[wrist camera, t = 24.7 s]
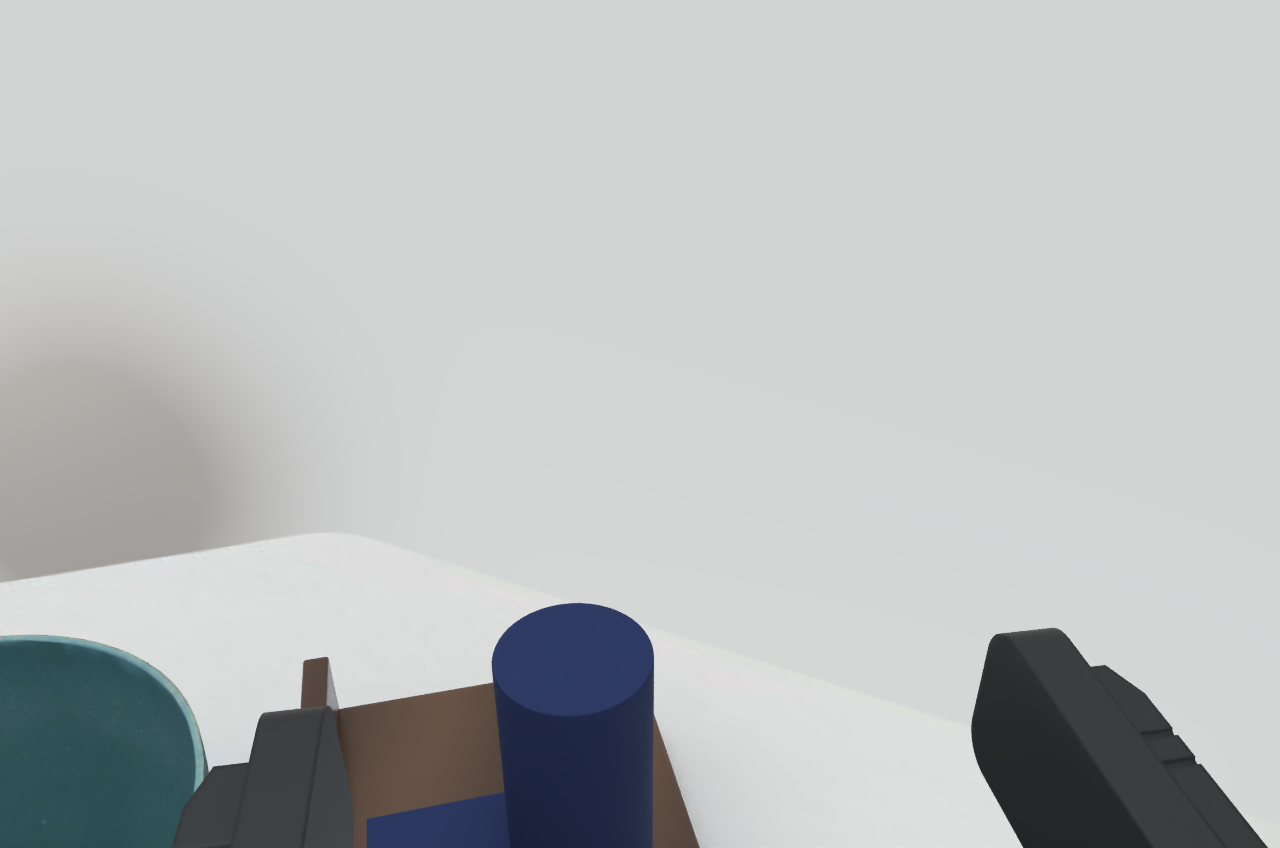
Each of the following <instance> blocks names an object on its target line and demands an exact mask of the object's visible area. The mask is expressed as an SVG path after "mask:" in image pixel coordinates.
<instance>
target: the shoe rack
mask: <svg viewBox="0 0 1280 848" xmlns="http://www.w3.org/2000/svg"><path fill="white" fill-rule="evenodd" d="M321 706H330V707H331V708H332V711H333V714H334V718H335V722H336V727H337V731H338V736H339V741H340V746H341V750H342V755H343V760H344V764H345V769H346V774H347V779H348V783H349V788H350V793H351V799H352V808H353V848H367V819H368V818H374V817H379V816H384V815H389V814H394V813H399V812H404V811H410V810H415V809H420V808H425V807H430V806H435V805H440V804H446V803H451V802H456V801H461V800H466V799H471V798H476V797H482V796H487V795H492V794H497V793H502V792H504V782H503V772H502V762H501V752H500V742H499V732H498V722H497V712H496V702H495V692H494V683H488V684H483V685H477V686H471V687H465V688H459V689H454V690H448V691H442V692H436V693H430V694H425V695H419V696H413V697H407V698H401V699H396V700H390V701H384V702H378V703H372V704H367V705H361V706H355V707H349V708H343V709H339V707H338V702H337V697H336V692H335V687H334V683H333V678H332V673H331V668H330V663H329V659H328V657H322V658H316V659H310V660H305V661H304V663H303V677H302V694H301V709H303V708H312V707H321ZM653 848H699V845H698V842H697V839H696V836H695V833H694V830H693V827H692V824H691V821H690V818H689V815H688V812H687V810H686V807H685V804H684V801H683V798H682V795H681V792H680V789H679V786H678V783H677V780H676V777H675V774H674V771H673V768H672V766H671V763H670V760H669V757H668V754H667V751H666V748H665V745H664V742H663V739H662V736H661V733H660V730H659V727H658V725H657V722H656V719H655V716H654V719H653Z"/></svg>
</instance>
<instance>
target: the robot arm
mask: <svg viewBox="0 0 1280 848" xmlns="http://www.w3.org/2000/svg"><path fill="white" fill-rule="evenodd" d="M971 733H972V743H973V748H974V753H975V757H976V760H977V763H978V765H979V768H980V770H981V772H982V774H983V776H984V778H985V779H986V781H987V783H988V785H989V787H990V788H991V790H992V792H993V794H994V796H995V797H996V799H997V801H998V803H999V805H1000V806H1001V808H1002V810H1003V812H1004V814H1005V815H1006V817H1007V819H1008V821H1009V823H1010V824H1011V826H1012V828H1013V830H1014V832H1015V833H1016V835H1017V837H1018V839H1019V841H1020V842H1021V844H1022V846H1023V848H1268V847H1267V846H1266V845H1265V844H1264V842H1263V841H1262V840H1261V839H1260V837H1259V836H1258V835H1257V834H1256V832H1255V831H1254V830H1253V829H1252V827H1251V826H1250V825H1249V823H1248V822H1247V821H1246V820H1245V818H1244V817H1243V816H1242V815H1241V813H1240V812H1239V811H1238V810H1237V808H1236V807H1235V806H1234V805H1233V803H1232V802H1231V801H1230V800H1229V799H1228V797H1227V796H1226V795H1225V794H1224V792H1223V791H1222V790H1221V788H1220V787H1219V786H1218V785H1217V783H1216V782H1215V781H1214V780H1213V778H1212V777H1211V776H1210V775H1209V773H1208V772H1207V771H1206V770H1205V768H1204V767H1203V766H1202V765H1201V764H1197V763H1196V761H1195V756H1194V754H1193V753H1192V752H1191V751H1190V750H1189V748H1188V747H1187V746H1186V745H1185V743H1184V742H1183V741H1182V739H1181V738H1180V737H1179V736H1178V735H1174V734H1173V731H1172V727H1171V726H1170V724H1169V723H1168V722H1167V721H1166V719H1165V718H1164V717H1163V716H1162V714H1161V713H1160V712H1159V711H1158V709H1157V708H1156V707H1155V706H1154V704H1153V703H1152V702H1151V701H1150V699H1149V698H1148V697H1147V695H1146V694H1145V693H1143V692H1142V691H1141V690H1139V689H1138V688H1137V687H1135V686H1134V685H1132V684H1131V683H1129V682H1128V681H1127V680H1125V679H1124V678H1123V677H1121V676H1120V675H1118V674H1117V673H1116V672H1114V671H1113V670H1111V669H1110V668H1109V667H1107V666H1106V665H1102V666H1094V667H1090V666H1089V664H1088V663H1087V662H1086V660H1085V659H1084V658H1083V656H1082V655H1081V654H1080V652H1079V651H1078V650H1077V648H1076V647H1075V646H1074V645H1073V643H1072V642H1071V641H1070V639H1069V638H1068V637H1067V636H1066V634H1064V633H1063V632H1062V631H1061V630H1059V629H1056V628H1047V629H1038V630H1029V631H1020V632H1011V633H1002V634H996V635H995V636H994V637H993V638H992V639H991V641H990V643H989V647H988V651H987V655H986V660H985V664H984V669H983V673H982V678H981V682H980V686H979V691H978V695H977V700H976V704H975V709H974V713H973V718H972V726H971ZM172 848H353V808H352V799H351V793H350V788H349V783H348V779H347V774H346V769H345V764H344V760H343V755H342V750H341V746H340V741H339V736H338V731H337V727H336V722H335V718H334V714H333V711H332V708H331V707H330V706H321V707H312V708H303V709H294V710H285V711H276V712H267V713H263V714H262V715H261V717H260V719H259V721H258V725H257V729H256V733H255V737H254V742H253V746H252V750H251V755H250V759H249V763H240V764H232V765H223V766H215V767H213V768H212V770H211V771H210V772H209V774H208V775H207V776H206V778H205V779H204V780H203V782H202V783H201V784H200V786H199V787H198V788H197V790H196V791H195V792H194V794H193V795H192V796H191V798H190V799H189V800H188V802H187V803H186V804H185V806H184V807H183V810H182V813H181V817H180V820H179V824H178V827H177V831H176V834H175V838H174V841H173V845H172Z"/></svg>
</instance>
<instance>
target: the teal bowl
mask: <svg viewBox="0 0 1280 848" xmlns="http://www.w3.org/2000/svg"><path fill="white" fill-rule="evenodd" d="M208 774H209V772H208V765H207V760H206V755H205V751H204V746H203V742H202V738H201V735H200V731H199V728H198V725H197V722H196V719H195V716H194V714H193V712H192V710H191V708H190V706H189V704H188V703H187V701H186V699H185V698H184V696H183V695H182V693H181V692H180V691H179V689H178V688H177V687H176V686H175V685H174V684H173V683H172V682H171V681H170V680H169V679H168V678H167V677H166V676H165V675H164V674H163V673H162V672H160V671H159V670H158V669H156V668H155V667H153V666H152V665H150V664H149V663H147V662H145V661H143V660H141V659H139V658H138V657H136V656H134V655H132V654H130V653H128V652H125V651H123V650H120V649H117V648H114V647H111V646H108V645H104V644H101V643H97V642H93V641H88V640H84V639H77V638H70V637H62V636H49V635H10V636H0V848H172V845H173V841H174V838H175V834H176V831H177V827H178V824H179V820H180V817H181V813H182V810H183V807H184V806H185V804H186V803H187V802H188V800H189V799H190V798H191V796H192V795H193V794H194V792H195V791H196V790H197V788H198V787H199V786H200V784H201V783H202V782H203V780H204V779H205V778H206V776H207V775H208Z"/></svg>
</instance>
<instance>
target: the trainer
mask: <svg viewBox="0 0 1280 848" xmlns="http://www.w3.org/2000/svg"><path fill="white" fill-rule="evenodd" d="M492 673H493V683H494V692H495V702H496V712H497V722H498V732H499V742H500V752H501V762H502V772H503V782H504V792H502V793H497V794H492V795H487V796H482V797H476V798H471V799H466V800H461V801H456V802H451V803H446V804H440V805H435V806H430V807H425V808H420V809H415V810H410V811H404V812H399V813H394V814H389V815H384V816H379V817H374V818H368V819H367V848H653V719H654V653H653V647H652V644H651V641H650V639H649V637H648V635H647V634H646V633H645V631H644V630H643V629H642V627H641V626H640V625H639V624H638V623H636V622H635V621H634V620H633V619H631V618H630V617H628V616H627V615H625V614H623V613H621V612H619V611H616V610H613V609H611V608H608V607H604V606H600V605H594V604H585V603H569V604H560V605H555V606H550V607H547V608H543V609H540V610H538V611H535V612H533V613H530V614H528V615H527V616H525V617H523V618H521V619H520V620H518V621H517V622H515V623H514V624H513V625H512V626H511V627H509V628H508V629H507V630H506V632H505V633H504V634H503V635H502V636H501V638H500V639H499V641H498V643H497V645H496V647H495V649H494V653H493V657H492Z"/></svg>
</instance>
